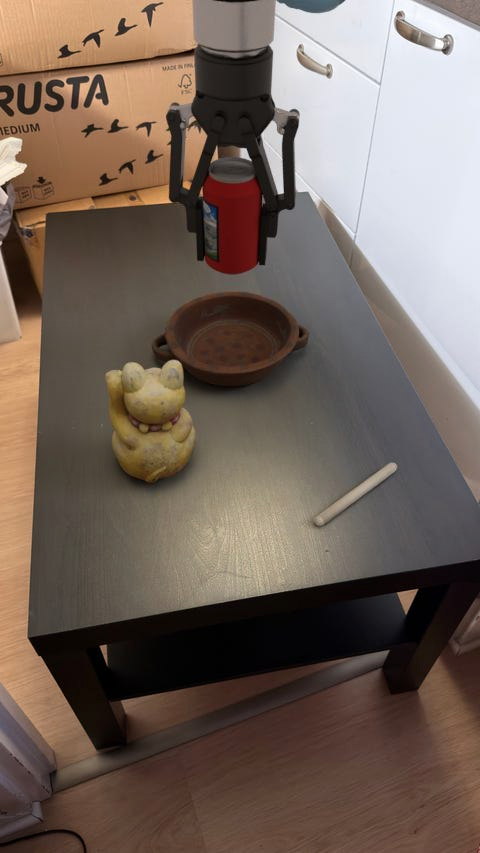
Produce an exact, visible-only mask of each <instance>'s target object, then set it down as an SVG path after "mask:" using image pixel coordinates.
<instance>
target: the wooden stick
mask: <svg viewBox="0 0 480 853" xmlns="http://www.w3.org/2000/svg"><path fill="white" fill-rule="evenodd" d="M397 470H398V465H397V464H396V463H395V462H392V461H391V462H389V463H387V464H386V465H385V466H383V467H381V469H379V470H378V471H377V472H375V473H374V474H372V475H371V476H369V477H368V478H367V479H365V480H364V481H363V482H362V483H361V482H360V484H359V485H357V486H356V487H355V488H353V489H352V490H350V491H349V492H348V493H346V494H345V495H343V496H342V497H341V498H339V500H337V501H335V502H334V503H332V504H331V505H330V506H329V507H327V508H326V509H324V510H323V511H322V512H321V513H319V514H318V515H316V516H315V518H314V524H315V525H316V526H318V527H322V526H324V525H326V524H327V523H328V522H330V521H331V520H332V519H334V518H335V517H336V516H338V515H339V514H341V513H342V512H343V511H344V510H346V509H347V508H348V507H350V506H351V505H352V504H354V503H355V502H356V501H358V500H359V499H361V498H362V497H363V496H365V495H366V494H367V493H369V492H370V491H371V490H373V489H374V488H375V487H377V486H378V485H379V484H381V483H382V482H384V481H385V480H386V479H387V478H389V477H391V475H392V474H394V473H395V472H396V471H397Z"/></svg>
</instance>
